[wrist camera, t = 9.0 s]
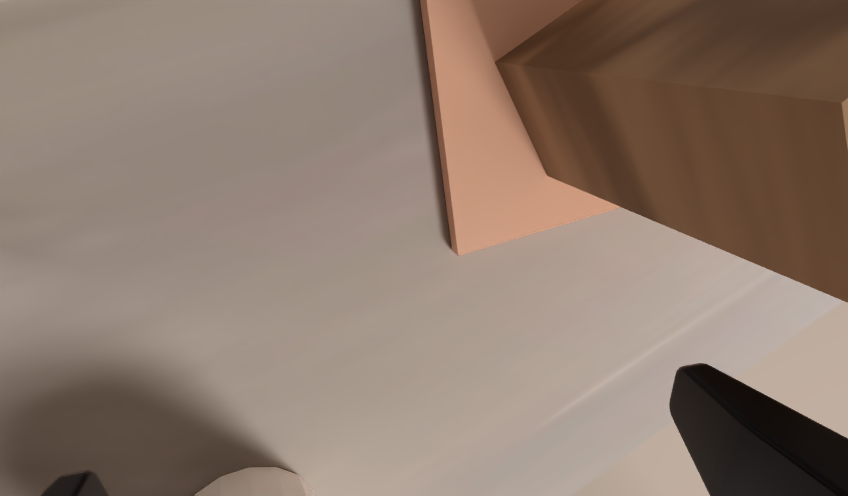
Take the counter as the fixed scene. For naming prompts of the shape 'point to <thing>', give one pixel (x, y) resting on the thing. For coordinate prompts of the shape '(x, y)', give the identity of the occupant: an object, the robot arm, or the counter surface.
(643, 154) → the walnut block
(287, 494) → the white cup
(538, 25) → the terracotta tile
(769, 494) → the robot arm
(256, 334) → the counter surface
